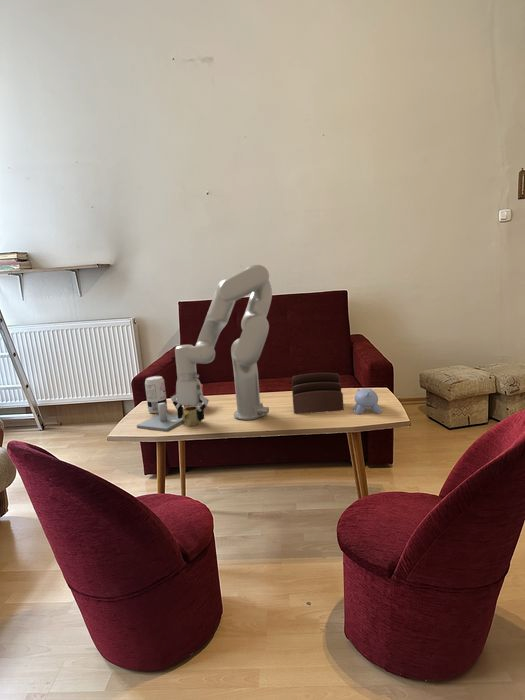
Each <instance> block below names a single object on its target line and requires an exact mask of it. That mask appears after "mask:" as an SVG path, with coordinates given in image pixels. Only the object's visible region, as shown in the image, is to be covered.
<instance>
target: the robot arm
mask: <svg viewBox="0 0 525 700" xmlns="http://www.w3.org/2000/svg"><path fill="white" fill-rule="evenodd" d="M269 280H270V272H269V270H268V268H266V267H265V266H263V265H261V264H253V265H249V266H247V267H245V269H244V270H242V271H241V272H239V273H237V274H235V275H233V276H231V277H228V278H224V279H221V280H220V281H219V282H218V284H217V287H216V289H215V292H214V294H213V297H212V299H211V302H210V306H209V308H208V311H207V314H206V316H205V319H204V321H203V322H204V323H203V325H202V327H201V330H200V332H199V335H198V338H197V341H196V343H195V345H193V344H181V345H177V346H175V348H174V355H175V356H174V357H175V365H176V376H177V379H176V383H175V384H176V385H175V394H174V395H173V396H170V400H171V402H172V404H173V406H175V409H177V410H176V411H177V412H176V413H177V415H178V419H180V418H182V415H183V410H182V409H183V408H184V406H183V405H186V406H196V408H197V409H198V410H199V411H198V421H203V420H205V409H206V408H207V406H208V404H209V401H210V400H209V399H208V398H207V397H205V396H204V394H203V393H204V392H203V393H202V388H201V384H202V383H201V381H200V379H199V378H200V374H198V373H197V364H201V365H202V364H203V365H205V364H209V363H212V362H213V361H214V360H215V358H216V350H215V347H216V344H217V342H218V339H219V336H220V334H221V332H222V331H223V329H224V328H225V327H226V325H228V322H229V319H230V317H231V315H232V312H233V309H234V307H235V304H236V302H237V301H238V300H240V299H242V298H244V297H246V296H248V295H249V298H248V302H247V306H246V308H245V311H244V314H243V316H242V319H241V323H240V327H241V330H242V331H241V333H240V337H239V338H237V339H236V340H234V341H233V342H232V344H231V347H230V354H231V360H232V368H233V369H232V370H233V377H234V389H235V400H236V410H235V411H234V413H233V418H234V419H237V420H242V421H247V420H248V421H250V420H251V421H252V420H256V419H259V418H262V417H263V416H265V414H269V412H270V407H269V406H264V405H263V404H264V403H263V402H261V397H260V384H259V370H258V363H257V362H258V361H259V359H260V357H261V355H262V352H263V349H264V346H265V343H266V341H267V337H268V334H269V329H270V324H269V321H268V319H267V316H268V313H269V311H270V307H271V303H272V299H273V290H272V285H271V282H270V281H269Z"/></svg>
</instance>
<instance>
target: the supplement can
mask: <svg viewBox="0 0 525 700" xmlns="http://www.w3.org/2000/svg"><path fill="white" fill-rule="evenodd" d="M165 385H166V384H165V379H164V377H163V376H162V375H161V376H160V375H154V376H149V377H146V378H145V381H144V387H145V395H146V402H147V412H149V413H150V414H152V413H158V414H159V410H158V404H159V403H166V411H167V409H168V401H167V393H166V386H165Z"/></svg>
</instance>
